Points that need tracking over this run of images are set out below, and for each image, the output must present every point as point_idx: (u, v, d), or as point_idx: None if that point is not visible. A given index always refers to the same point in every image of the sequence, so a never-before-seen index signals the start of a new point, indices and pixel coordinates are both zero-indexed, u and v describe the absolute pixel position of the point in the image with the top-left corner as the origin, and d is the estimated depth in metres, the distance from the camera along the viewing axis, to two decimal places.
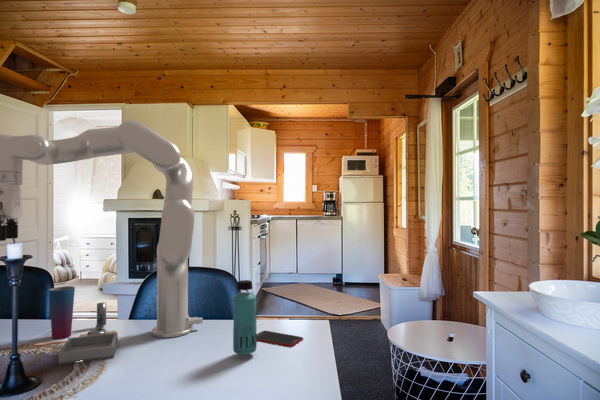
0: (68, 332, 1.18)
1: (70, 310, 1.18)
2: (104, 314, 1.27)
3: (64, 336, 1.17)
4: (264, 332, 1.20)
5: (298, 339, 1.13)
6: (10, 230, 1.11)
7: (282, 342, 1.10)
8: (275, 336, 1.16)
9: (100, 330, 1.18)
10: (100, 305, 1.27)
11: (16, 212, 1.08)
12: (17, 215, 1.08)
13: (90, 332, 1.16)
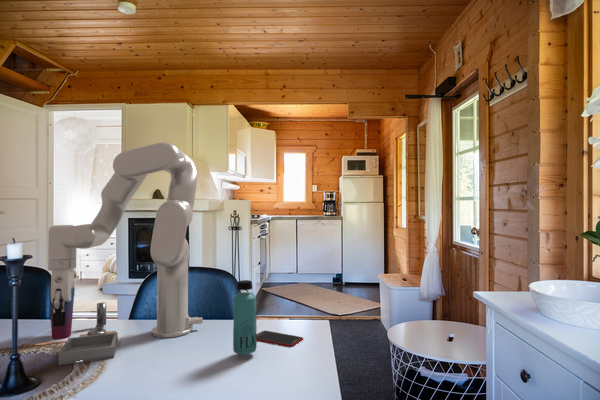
0: (68, 332, 1.18)
1: (70, 310, 1.18)
2: (104, 314, 1.27)
3: (64, 336, 1.17)
4: (264, 332, 1.20)
5: (298, 339, 1.13)
6: None
7: (282, 342, 1.10)
8: (275, 336, 1.16)
9: (100, 330, 1.18)
10: (100, 305, 1.27)
11: None
12: None
13: (90, 332, 1.16)
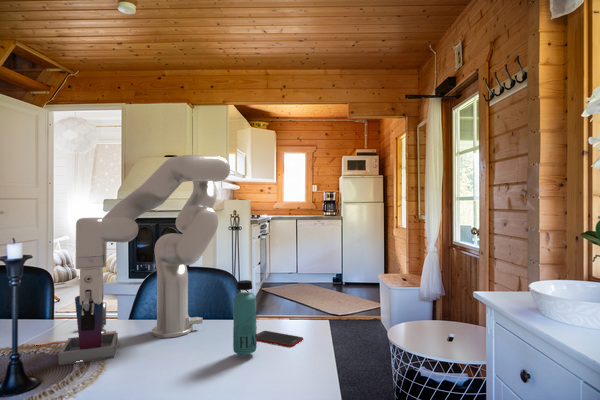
0: (98, 345, 1.04)
1: (99, 320, 1.04)
2: (104, 314, 1.27)
3: None
4: (264, 332, 1.20)
5: (298, 339, 1.13)
6: None
7: (282, 342, 1.10)
8: (275, 336, 1.16)
9: None
10: None
11: None
12: None
13: None
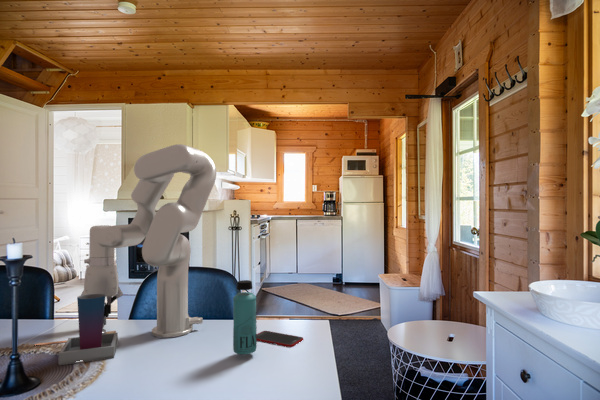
0: (98, 345, 1.04)
1: (100, 320, 1.04)
2: (104, 314, 1.27)
3: None
4: (264, 332, 1.20)
5: (298, 339, 1.13)
6: None
7: (282, 342, 1.10)
8: (275, 336, 1.16)
9: None
10: None
11: (97, 292, 1.25)
12: None
13: None
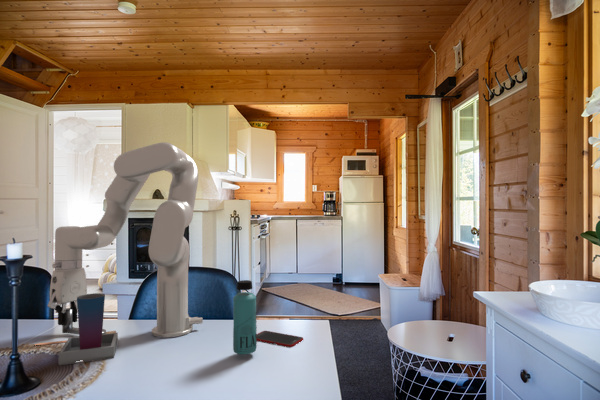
0: (98, 345, 1.04)
1: (100, 321, 1.04)
2: (72, 319, 1.21)
3: None
4: (264, 332, 1.20)
5: (298, 339, 1.13)
6: None
7: (282, 342, 1.10)
8: (275, 336, 1.16)
9: None
10: (70, 310, 1.20)
11: (72, 296, 1.19)
12: (75, 298, 1.20)
13: None
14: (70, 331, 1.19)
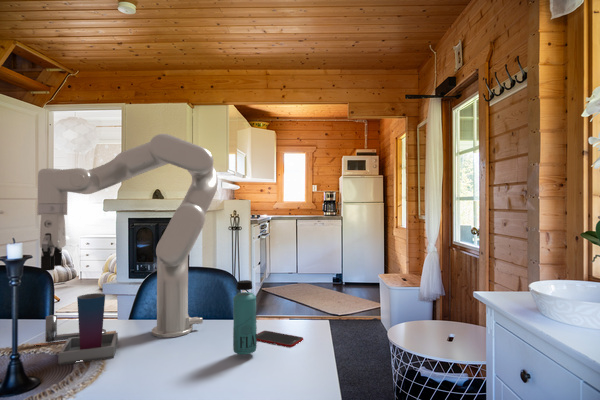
0: (98, 345, 1.04)
1: (100, 320, 1.04)
2: None
3: None
4: (264, 332, 1.20)
5: (298, 339, 1.13)
6: (55, 258, 1.17)
7: (282, 342, 1.10)
8: (275, 336, 1.16)
9: None
10: (56, 317, 1.13)
11: (62, 242, 1.13)
12: (63, 244, 1.14)
13: None
14: (59, 338, 1.12)
